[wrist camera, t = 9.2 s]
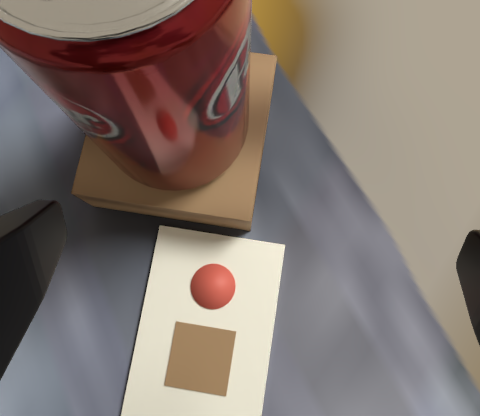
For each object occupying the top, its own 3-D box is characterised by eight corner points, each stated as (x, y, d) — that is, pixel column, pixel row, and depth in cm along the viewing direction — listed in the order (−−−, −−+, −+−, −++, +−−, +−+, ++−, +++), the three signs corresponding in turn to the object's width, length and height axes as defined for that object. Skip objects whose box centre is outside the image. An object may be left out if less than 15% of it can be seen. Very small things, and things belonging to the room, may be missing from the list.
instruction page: (257, 441, 21) (257, 443, 20) (121, 417, 21) (119, 418, 21) (284, 245, 23) (285, 244, 22) (160, 225, 23) (159, 225, 23)
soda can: (121, 209, 20) (-54, 89, 8) (95, 78, 22) (-82, -181, 10) (264, 175, 20) (291, 11, 9) (230, 47, 22) (213, -239, 10)
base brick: (250, 230, 23) (251, 221, 20) (92, 206, 23) (71, 193, 20) (273, 84, 25) (277, 55, 22) (127, 63, 25) (111, 33, 22)
